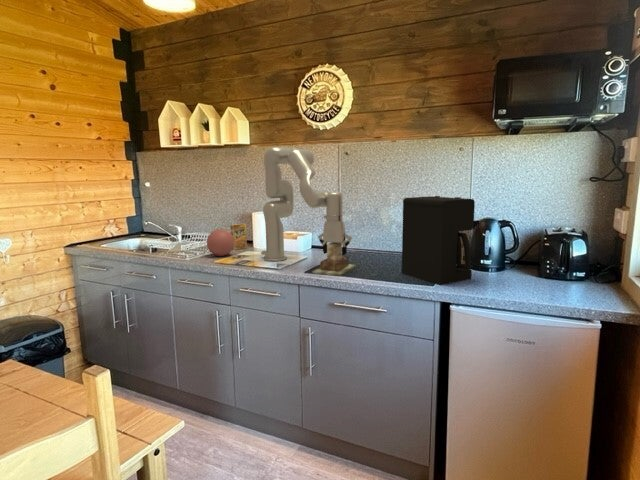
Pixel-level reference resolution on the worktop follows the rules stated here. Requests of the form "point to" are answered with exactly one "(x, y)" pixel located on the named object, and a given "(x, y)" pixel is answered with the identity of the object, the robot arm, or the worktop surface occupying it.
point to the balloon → (220, 242)
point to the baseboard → (177, 248)
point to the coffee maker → (437, 238)
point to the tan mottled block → (334, 252)
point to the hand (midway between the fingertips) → (334, 253)
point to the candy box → (239, 235)
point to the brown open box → (334, 267)
